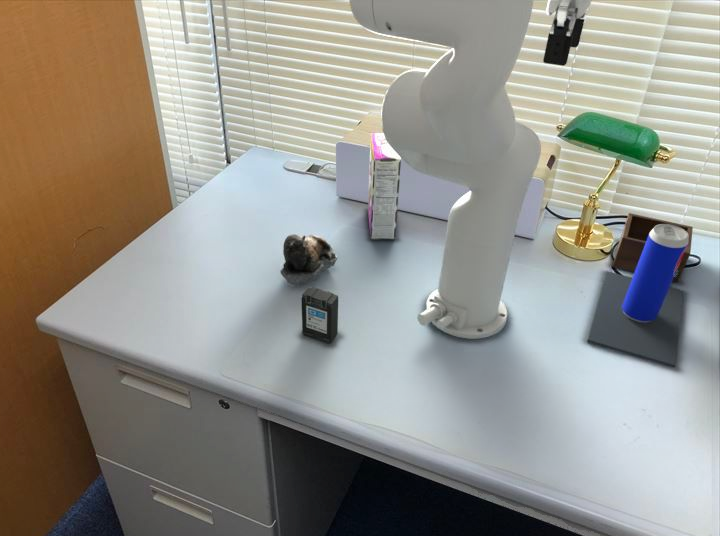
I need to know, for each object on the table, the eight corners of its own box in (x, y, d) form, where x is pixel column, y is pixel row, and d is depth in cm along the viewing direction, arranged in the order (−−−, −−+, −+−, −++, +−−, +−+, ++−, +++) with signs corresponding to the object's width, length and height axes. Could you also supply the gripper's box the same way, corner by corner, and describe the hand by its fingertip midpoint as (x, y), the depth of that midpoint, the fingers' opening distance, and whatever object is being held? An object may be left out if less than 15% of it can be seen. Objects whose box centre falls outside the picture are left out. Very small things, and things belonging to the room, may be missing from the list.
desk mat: (674, 367, 90) (675, 365, 89) (586, 342, 94) (587, 339, 94) (682, 292, 104) (683, 290, 103) (605, 273, 108) (606, 271, 108)
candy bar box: (366, 210, 125) (370, 132, 115) (391, 210, 125) (397, 132, 115) (368, 240, 116) (373, 158, 106) (395, 240, 116) (402, 158, 106)
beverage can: (659, 326, 96) (695, 243, 87) (623, 322, 97) (655, 239, 88) (652, 305, 100) (685, 224, 91) (618, 301, 101) (648, 221, 92)
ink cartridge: (301, 335, 95) (300, 293, 90) (308, 326, 97) (308, 285, 92) (330, 345, 94) (331, 303, 89) (337, 336, 95) (338, 294, 90)
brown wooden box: (677, 283, 106) (690, 253, 102) (612, 266, 110) (622, 237, 106) (680, 255, 112) (693, 226, 109) (619, 241, 116) (628, 212, 112)
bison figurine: (309, 253, 113) (308, 203, 107) (344, 263, 110) (345, 213, 104) (274, 288, 105) (271, 236, 99) (311, 300, 102) (310, 248, 96)
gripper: (573, -88, 90) (547, 36, 101) (548, -73, 78) (521, 67, 89) (629, -85, 87) (596, 43, 98) (612, -69, 75) (577, 75, 86)
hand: (560, 54), depth 93 cm, fingers open, 9 cm apart
